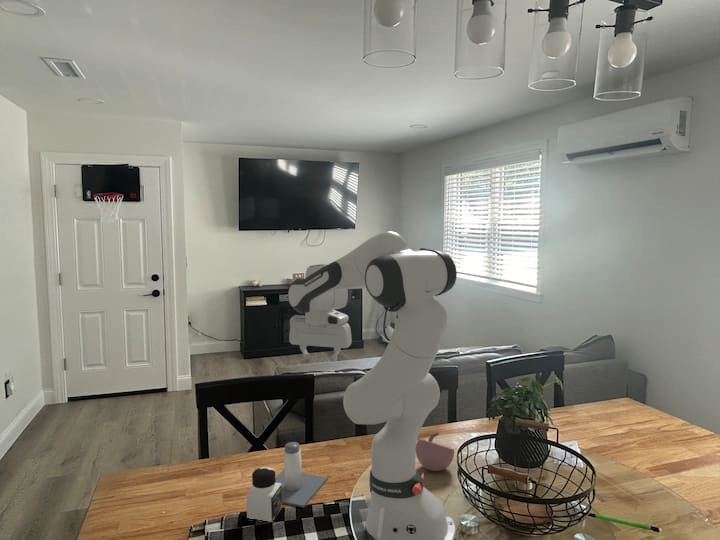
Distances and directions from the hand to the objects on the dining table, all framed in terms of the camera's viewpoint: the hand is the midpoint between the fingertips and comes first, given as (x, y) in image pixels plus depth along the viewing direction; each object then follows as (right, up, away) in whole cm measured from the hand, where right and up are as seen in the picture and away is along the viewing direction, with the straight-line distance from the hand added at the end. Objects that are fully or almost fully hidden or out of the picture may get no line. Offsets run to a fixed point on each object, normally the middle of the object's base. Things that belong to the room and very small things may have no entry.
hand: (320, 359), depth 150 cm
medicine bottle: (-13, -37, -22) cm, 45 cm away
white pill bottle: (-7, -35, -10) cm, 37 cm away
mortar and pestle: (+36, -35, +1) cm, 50 cm away
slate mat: (-7, -36, -10) cm, 38 cm away
